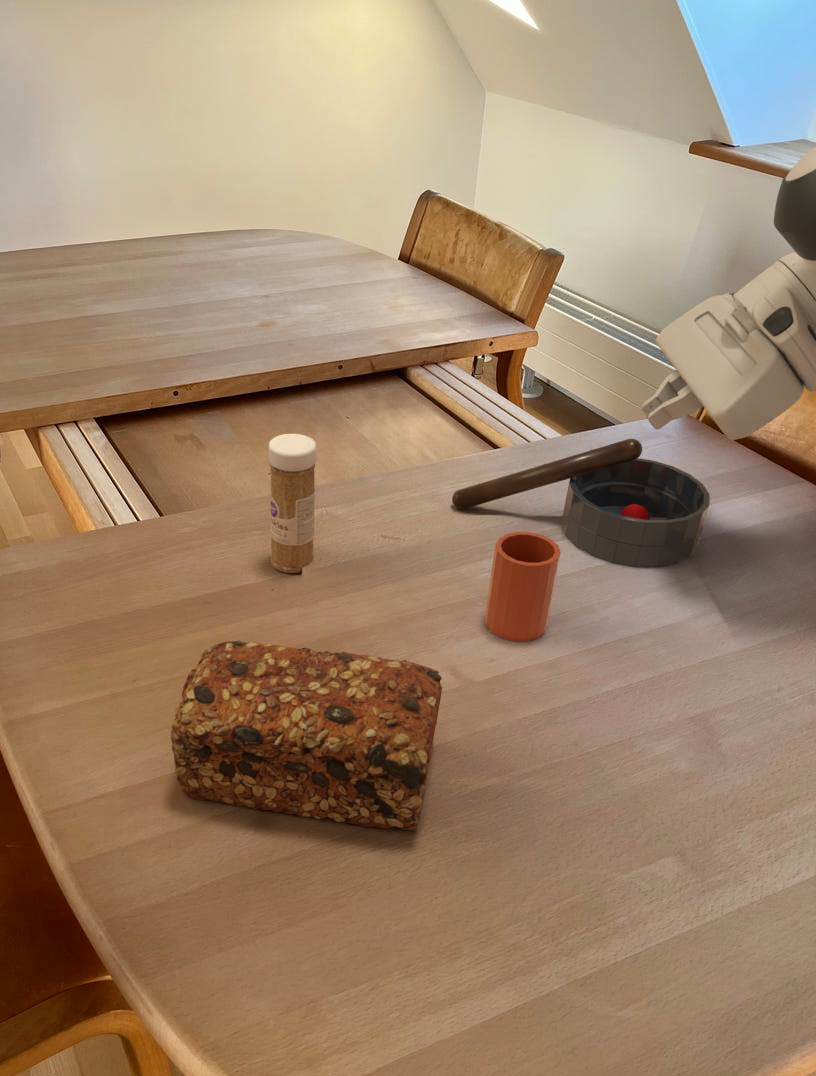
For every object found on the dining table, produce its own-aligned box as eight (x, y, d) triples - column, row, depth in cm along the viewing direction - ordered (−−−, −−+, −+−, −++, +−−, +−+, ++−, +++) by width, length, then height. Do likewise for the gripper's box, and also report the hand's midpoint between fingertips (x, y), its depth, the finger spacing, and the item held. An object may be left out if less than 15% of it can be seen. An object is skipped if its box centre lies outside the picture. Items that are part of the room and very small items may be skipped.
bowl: (673, 505, 110) (686, 457, 107) (713, 574, 99) (729, 523, 95) (549, 503, 110) (558, 455, 106) (575, 572, 99) (586, 521, 95)
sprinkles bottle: (261, 561, 99) (258, 440, 91) (295, 546, 101) (295, 427, 93) (289, 580, 96) (289, 457, 88) (324, 564, 99) (326, 443, 91)
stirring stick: (640, 433, 99) (452, 490, 109) (637, 438, 97) (446, 495, 108) (646, 454, 99) (459, 508, 110) (643, 459, 97) (453, 513, 108)
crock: (538, 612, 93) (553, 532, 88) (549, 648, 89) (565, 565, 83) (480, 612, 93) (491, 531, 87) (488, 647, 88) (500, 565, 83)
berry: (623, 502, 105) (634, 495, 102) (646, 517, 105) (658, 510, 103) (610, 525, 105) (621, 519, 102) (633, 540, 105) (645, 534, 102)
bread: (437, 746, 78) (448, 648, 72) (418, 846, 70) (429, 745, 63) (215, 710, 81) (208, 613, 75) (171, 802, 72) (159, 701, 66)
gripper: (722, 262, 96) (605, 356, 101) (803, 336, 79) (658, 443, 85) (754, 308, 99) (638, 397, 104) (838, 389, 82) (696, 489, 88)
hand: (647, 418), depth 95 cm, fingers closed
